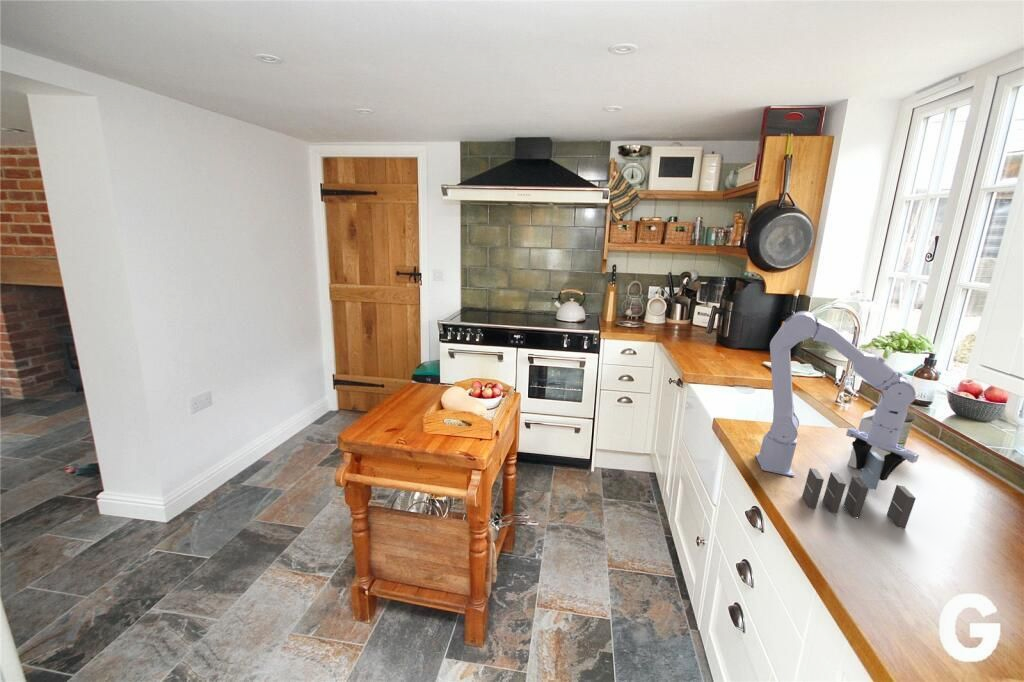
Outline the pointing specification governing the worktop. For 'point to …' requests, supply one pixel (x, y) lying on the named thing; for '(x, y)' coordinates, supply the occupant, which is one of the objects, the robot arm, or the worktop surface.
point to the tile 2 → (834, 492)
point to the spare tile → (872, 470)
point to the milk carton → (865, 427)
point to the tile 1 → (812, 488)
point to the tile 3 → (856, 496)
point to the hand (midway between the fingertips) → (871, 473)
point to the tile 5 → (901, 506)
